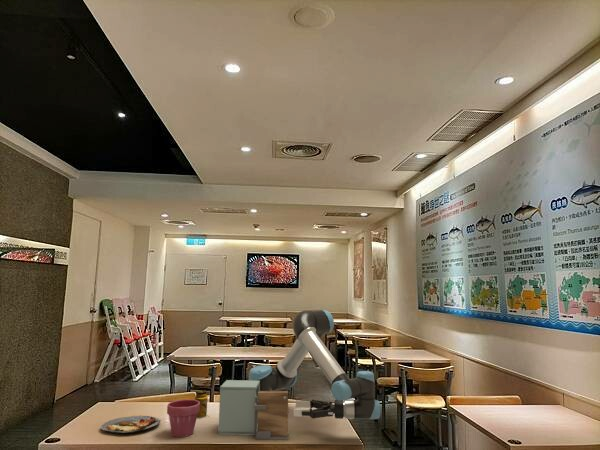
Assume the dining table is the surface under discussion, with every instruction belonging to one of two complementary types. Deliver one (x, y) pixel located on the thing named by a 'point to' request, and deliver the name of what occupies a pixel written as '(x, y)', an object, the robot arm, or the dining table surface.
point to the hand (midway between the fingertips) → (294, 408)
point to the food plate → (130, 424)
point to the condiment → (202, 403)
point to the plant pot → (183, 416)
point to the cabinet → (241, 409)
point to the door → (273, 413)
